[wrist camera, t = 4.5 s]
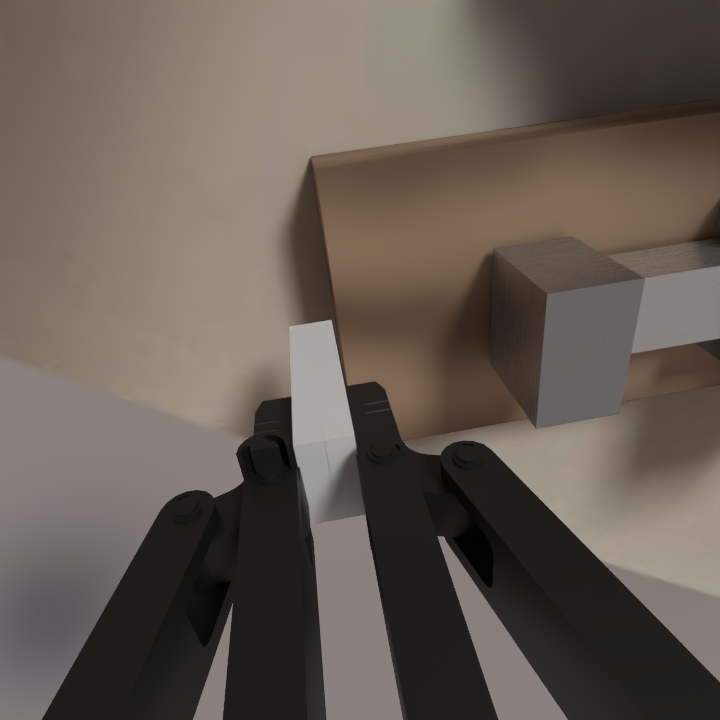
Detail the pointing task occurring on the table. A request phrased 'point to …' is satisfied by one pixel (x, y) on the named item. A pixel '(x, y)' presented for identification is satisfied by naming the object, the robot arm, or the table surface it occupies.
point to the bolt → (593, 319)
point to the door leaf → (498, 229)
